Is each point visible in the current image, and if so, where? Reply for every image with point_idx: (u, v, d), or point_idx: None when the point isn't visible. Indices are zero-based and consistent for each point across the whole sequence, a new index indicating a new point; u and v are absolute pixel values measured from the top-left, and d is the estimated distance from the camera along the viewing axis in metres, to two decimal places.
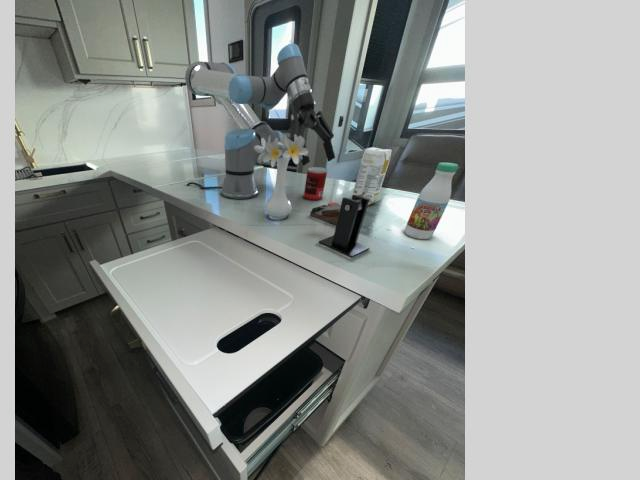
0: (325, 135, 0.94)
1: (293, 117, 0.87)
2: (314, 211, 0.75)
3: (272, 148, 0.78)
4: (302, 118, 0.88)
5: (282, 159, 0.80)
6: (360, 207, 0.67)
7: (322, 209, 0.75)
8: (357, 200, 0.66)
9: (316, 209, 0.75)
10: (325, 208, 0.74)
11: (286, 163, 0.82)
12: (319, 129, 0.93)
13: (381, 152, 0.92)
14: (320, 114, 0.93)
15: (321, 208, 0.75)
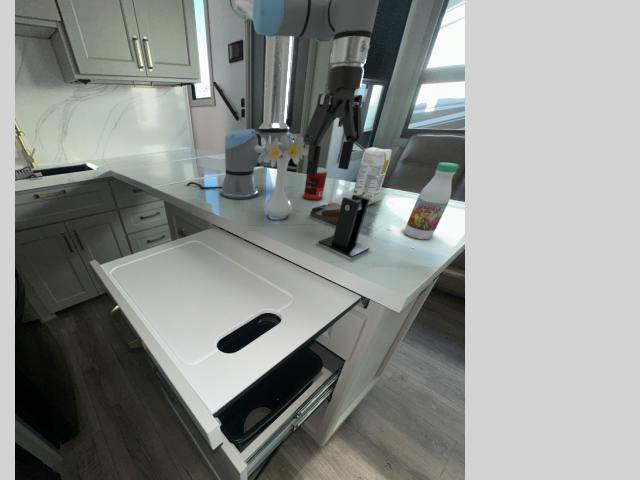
0: (351, 134, 0.69)
1: (323, 101, 0.59)
2: (314, 211, 0.75)
3: (272, 148, 0.78)
4: (334, 106, 0.60)
5: (282, 159, 0.80)
6: (360, 207, 0.67)
7: (322, 209, 0.75)
8: (357, 200, 0.66)
9: (316, 209, 0.75)
10: (325, 208, 0.74)
11: (286, 163, 0.82)
12: (348, 124, 0.67)
13: (381, 152, 0.92)
14: (359, 101, 0.64)
15: (321, 208, 0.75)
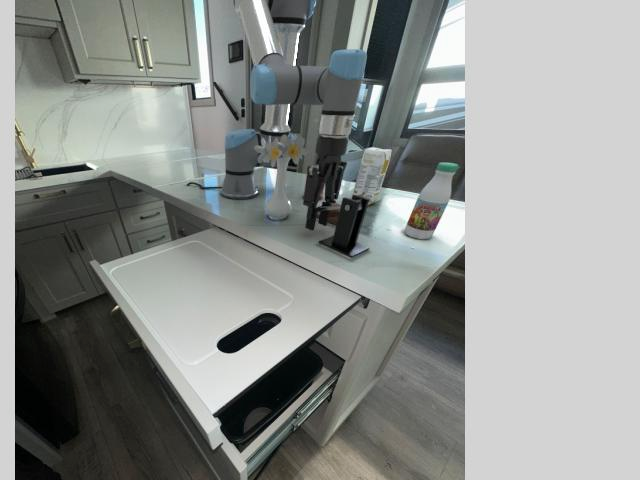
0: (330, 195, 0.75)
1: (312, 174, 0.67)
2: None
3: (272, 148, 0.78)
4: (321, 169, 0.67)
5: (282, 159, 0.80)
6: (360, 207, 0.67)
7: (322, 209, 0.75)
8: (357, 200, 0.66)
9: None
10: (325, 208, 0.74)
11: (286, 163, 0.82)
12: (330, 184, 0.73)
13: (381, 152, 0.92)
14: (344, 166, 0.72)
15: (321, 208, 0.75)
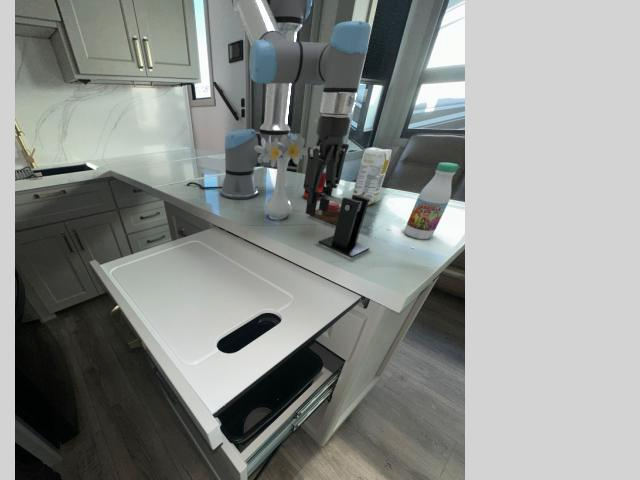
0: (331, 179, 0.73)
1: (312, 156, 0.65)
2: None
3: (272, 148, 0.78)
4: (322, 151, 0.65)
5: (282, 159, 0.80)
6: (359, 209, 0.67)
7: (323, 196, 0.73)
8: None
9: None
10: (326, 197, 0.72)
11: (286, 163, 0.82)
12: (331, 168, 0.71)
13: (381, 152, 0.92)
14: (345, 149, 0.69)
15: (322, 195, 0.73)
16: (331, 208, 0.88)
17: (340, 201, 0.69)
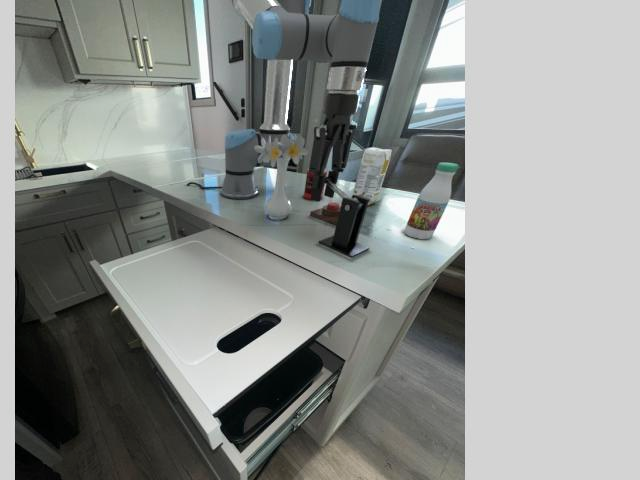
0: (337, 162, 0.70)
1: (319, 136, 0.61)
2: None
3: (272, 148, 0.78)
4: (329, 130, 0.62)
5: (282, 159, 0.80)
6: None
7: (327, 183, 0.71)
8: (359, 205, 0.66)
9: None
10: (330, 185, 0.70)
11: (286, 163, 0.82)
12: (338, 150, 0.68)
13: (381, 152, 0.92)
14: (353, 130, 0.66)
15: (327, 182, 0.70)
16: (331, 208, 0.88)
17: (342, 196, 0.68)
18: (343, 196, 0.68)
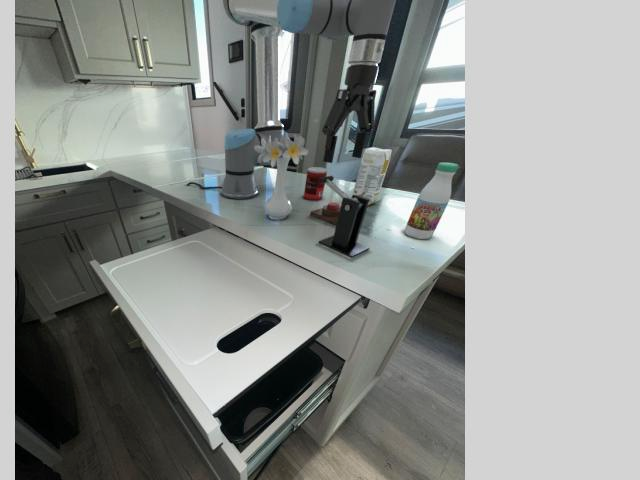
0: (364, 126, 0.77)
1: (341, 96, 0.67)
2: (319, 182, 0.70)
3: (272, 148, 0.78)
4: (350, 100, 0.69)
5: (282, 159, 0.80)
6: None
7: (327, 183, 0.71)
8: (359, 205, 0.66)
9: (322, 181, 0.70)
10: (330, 185, 0.70)
11: (286, 163, 0.82)
12: (362, 116, 0.75)
13: (381, 152, 0.92)
14: (373, 95, 0.72)
15: (327, 182, 0.70)
16: (331, 208, 0.88)
17: (342, 196, 0.68)
18: (343, 196, 0.68)
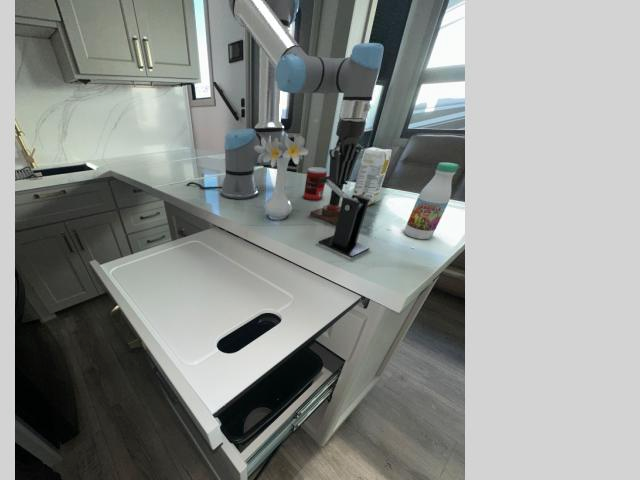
0: (343, 175, 0.83)
1: (334, 156, 0.77)
2: (319, 182, 0.70)
3: (272, 148, 0.78)
4: (341, 149, 0.76)
5: (282, 159, 0.80)
6: None
7: (327, 183, 0.71)
8: (359, 205, 0.66)
9: (322, 181, 0.70)
10: (330, 185, 0.70)
11: (286, 163, 0.82)
12: (345, 165, 0.81)
13: (381, 152, 0.92)
14: (359, 150, 0.81)
15: (327, 182, 0.70)
16: (331, 209, 0.88)
17: (342, 196, 0.68)
18: (343, 196, 0.68)
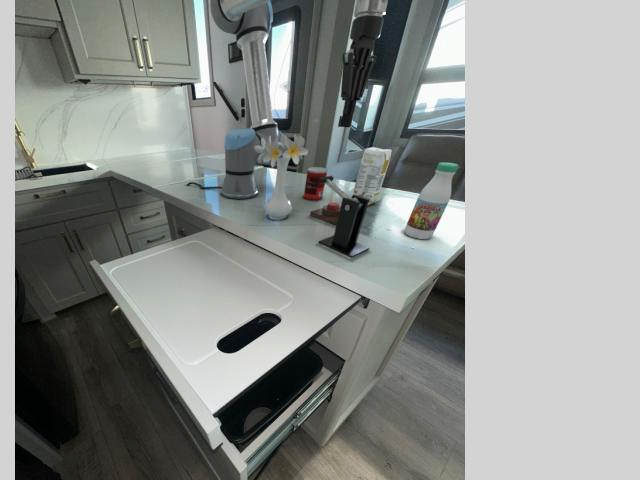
0: (356, 89, 0.77)
1: (347, 61, 0.70)
2: (319, 182, 0.70)
3: (272, 148, 0.78)
4: (356, 53, 0.70)
5: (282, 159, 0.80)
6: None
7: (327, 183, 0.71)
8: (359, 205, 0.66)
9: (322, 181, 0.70)
10: (330, 185, 0.70)
11: (286, 163, 0.82)
12: (359, 76, 0.75)
13: (381, 152, 0.92)
14: (374, 59, 0.74)
15: (327, 182, 0.70)
16: (331, 208, 0.88)
17: (342, 196, 0.68)
18: (343, 196, 0.68)
